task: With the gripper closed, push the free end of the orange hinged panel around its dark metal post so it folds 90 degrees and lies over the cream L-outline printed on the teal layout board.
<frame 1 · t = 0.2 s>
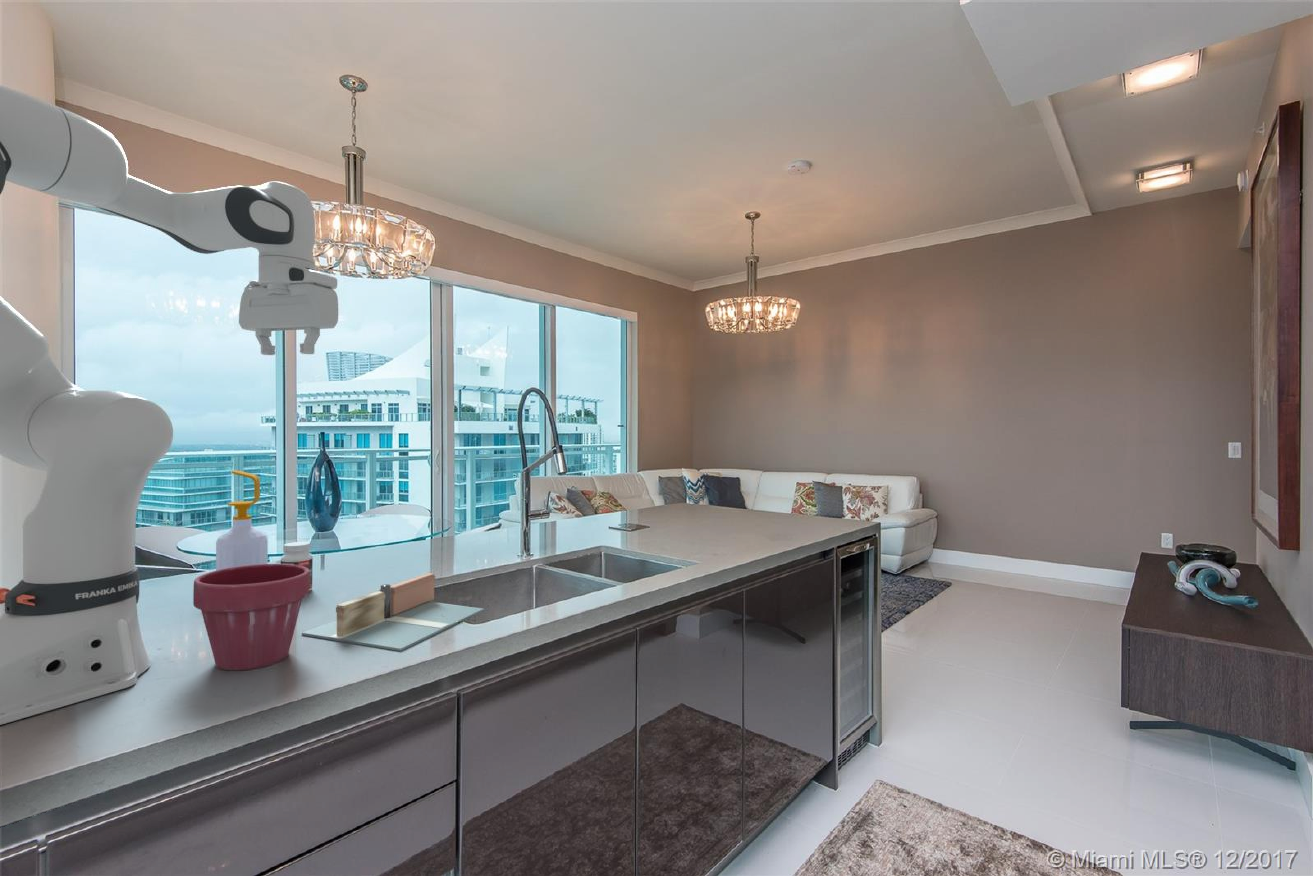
hand: (287, 354, 111), 47 cm above the worktop, tool pointing down, fingers open, 8 cm apart
pill bottle: (296, 592, 126), on the worktop
orange hinged panel: (411, 593, 115), point 3 cm above the worktop, hinge at 0.0°
plant pot: (253, 660, 91), on the worktop
layout board: (398, 622, 108), on the worktop
fence post: (385, 620, 109), resting on layout board
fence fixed: (361, 629, 104), resting on layout board
soap bottle: (242, 586, 129), on the worktop
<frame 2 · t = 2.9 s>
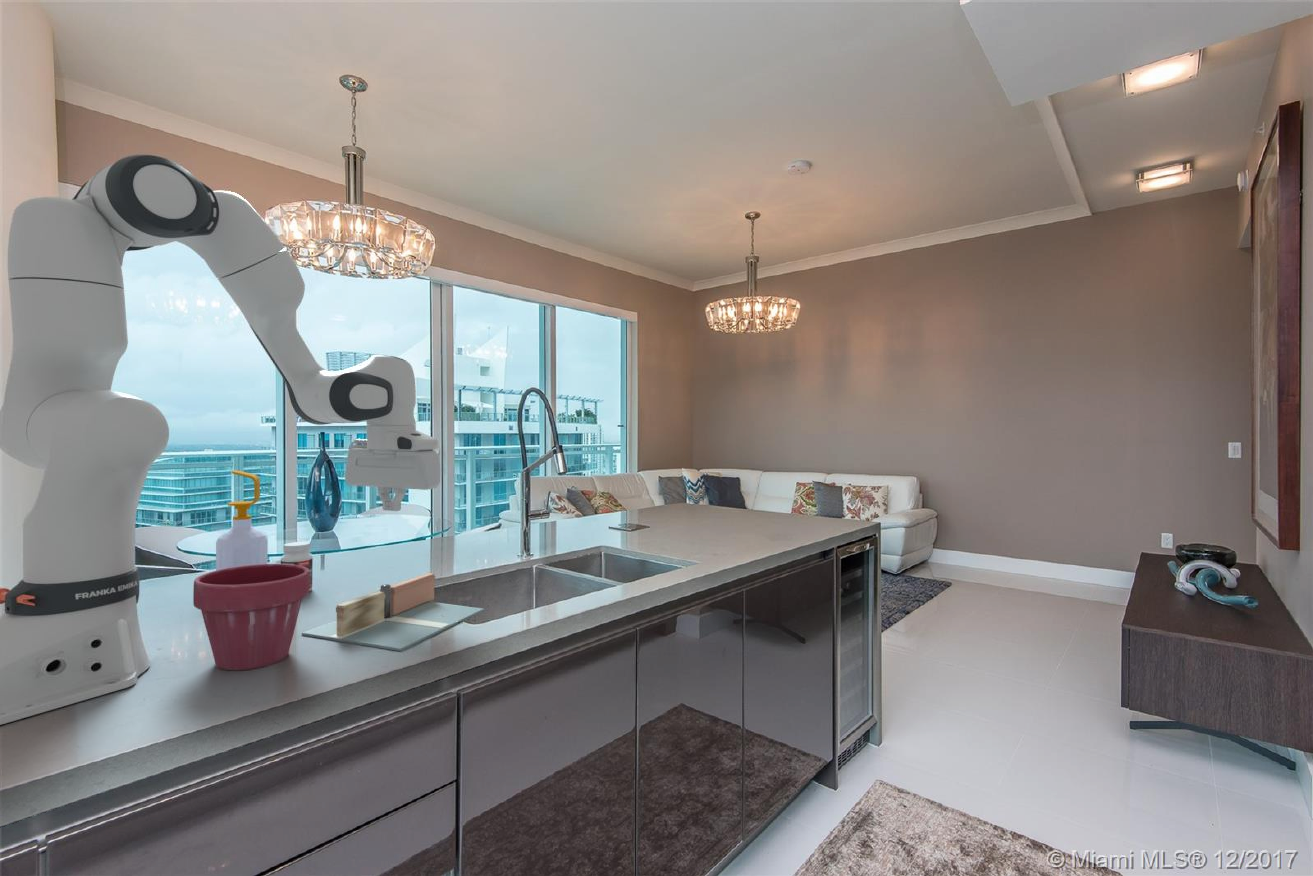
hand: (391, 510, 119), 18 cm above the worktop, tool pointing down, fingers closed
nothing on the worktop moved.
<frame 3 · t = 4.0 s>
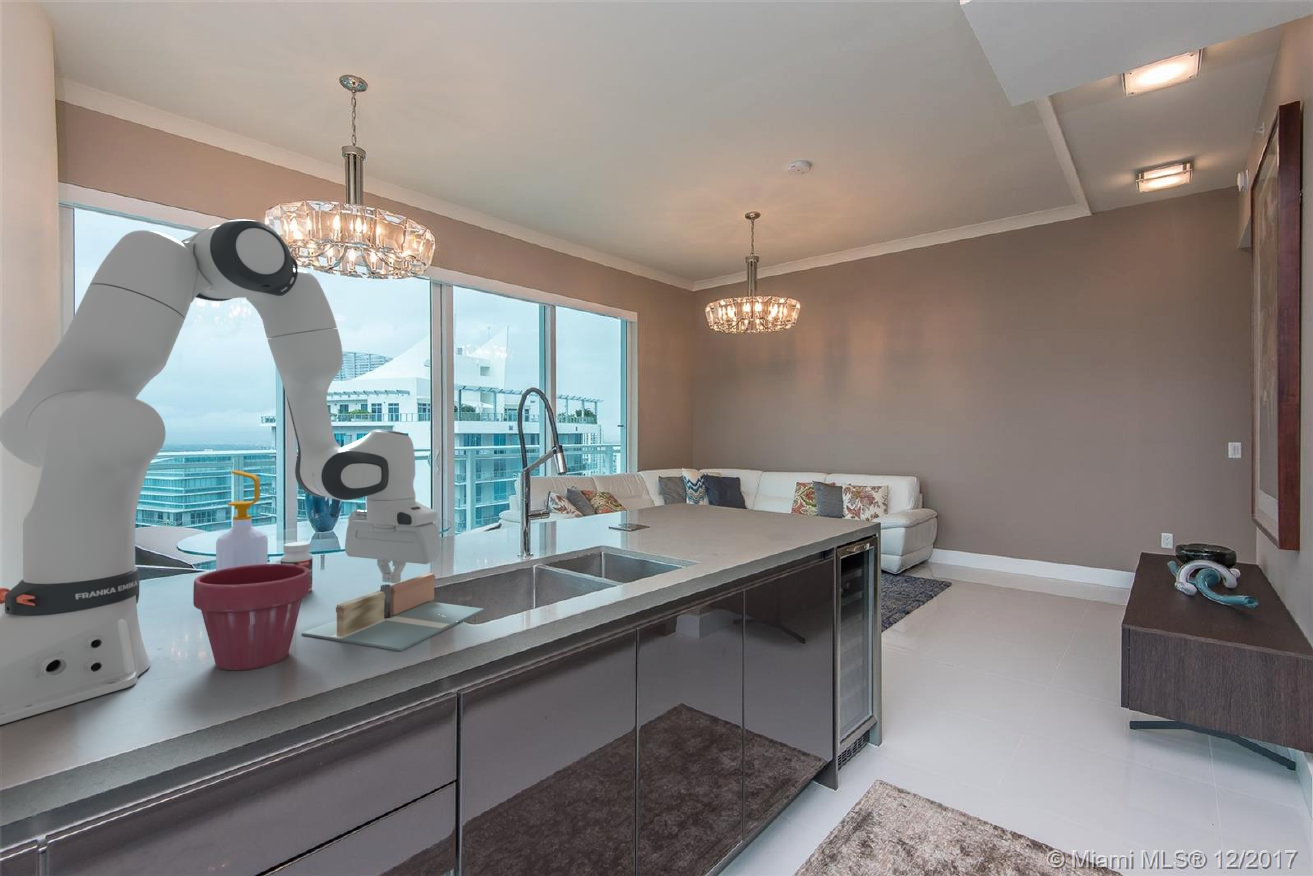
hand: (391, 582, 120), 4 cm above the worktop, tool pointing down, fingers closed
nothing on the worktop moved.
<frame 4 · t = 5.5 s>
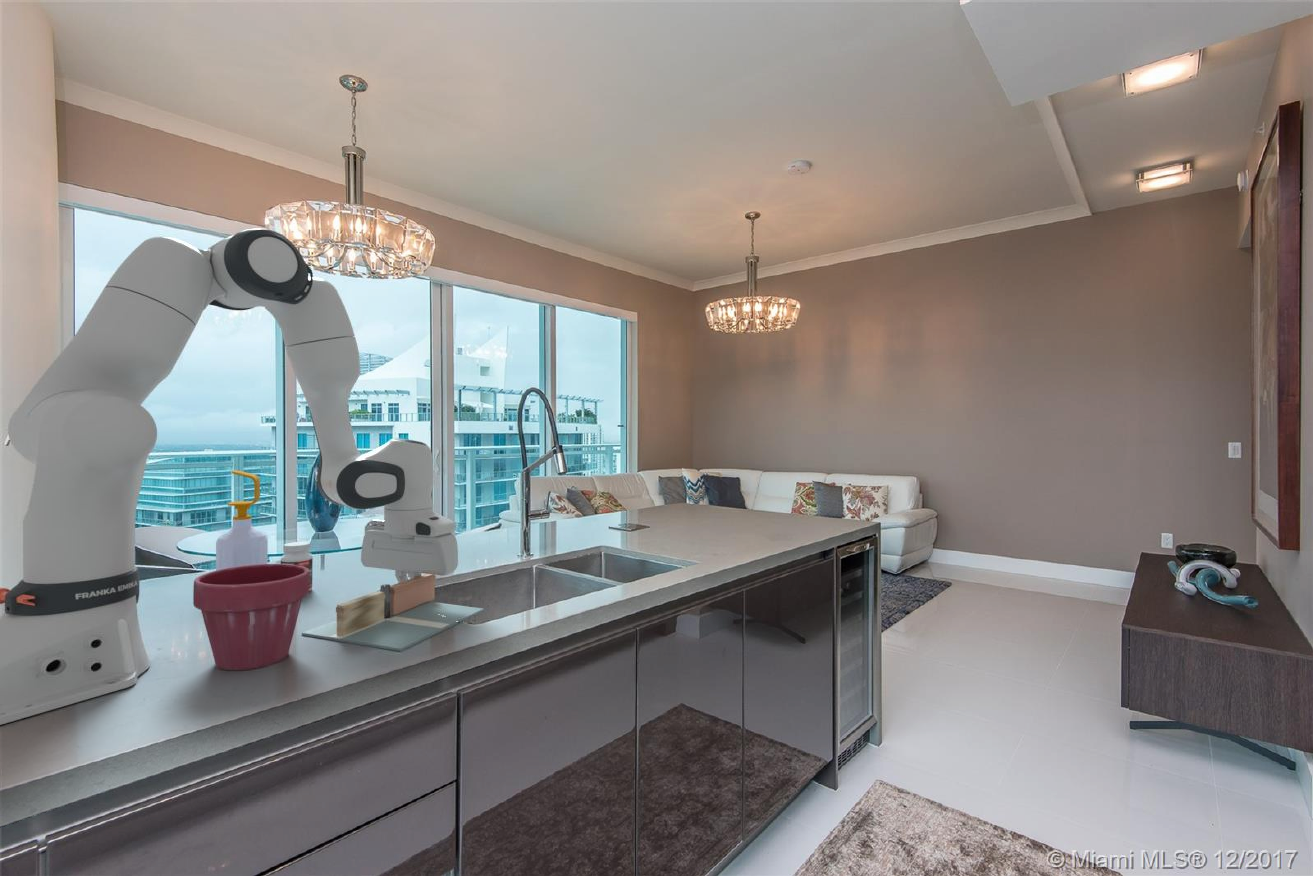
hand: (408, 593, 118), 2 cm above the worktop, tool pointing down, fingers closed
orange hinged panel: (412, 593, 115), point 3 cm above the worktop, hinge at 0.5°, touching gripper
everything else where it was.
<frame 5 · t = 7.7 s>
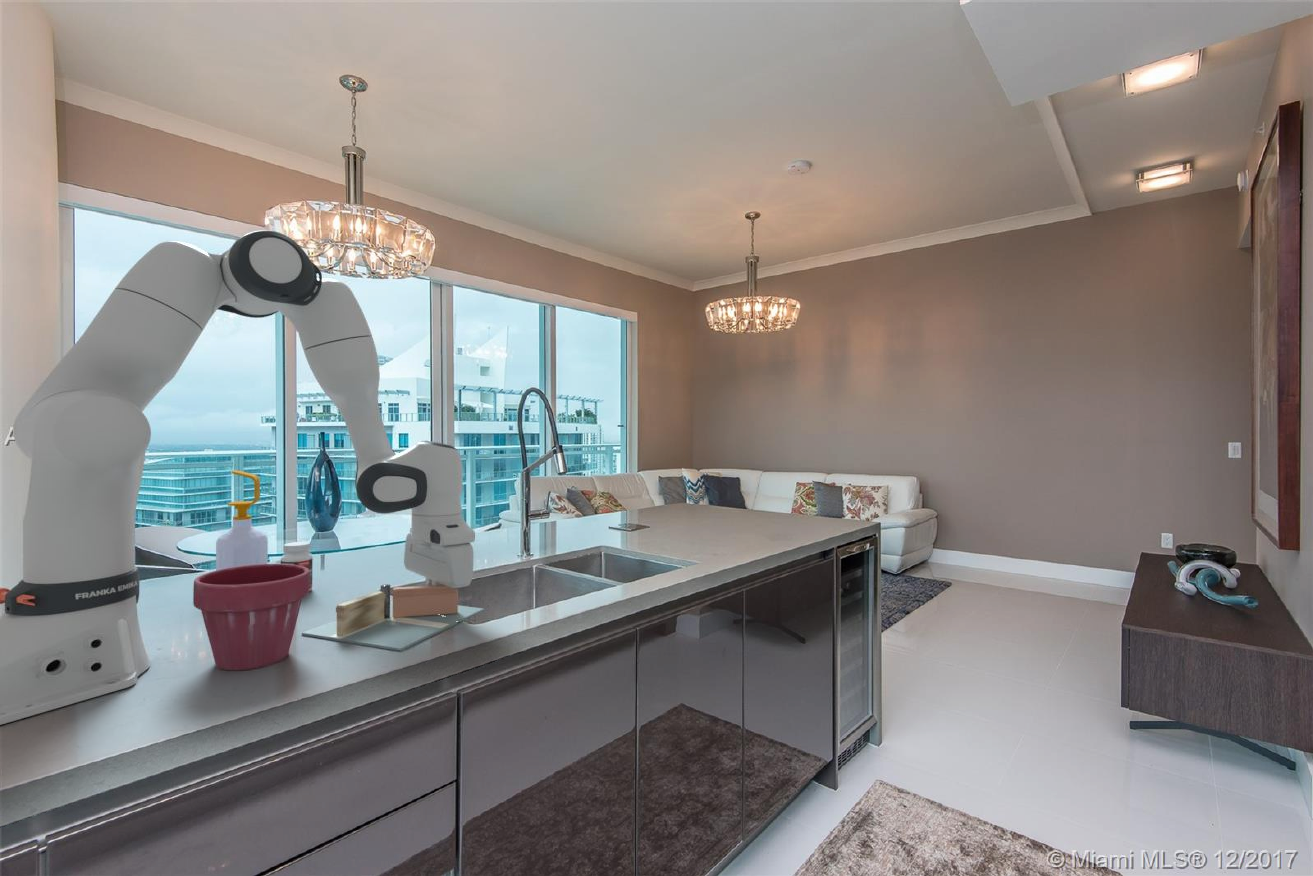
hand: (435, 602, 114), 2 cm above the worktop, tool pointing down, fingers closed
orange hinged panel: (425, 600, 111), point 3 cm above the worktop, hinge at 55.7°, touching gripper
everything else where it was.
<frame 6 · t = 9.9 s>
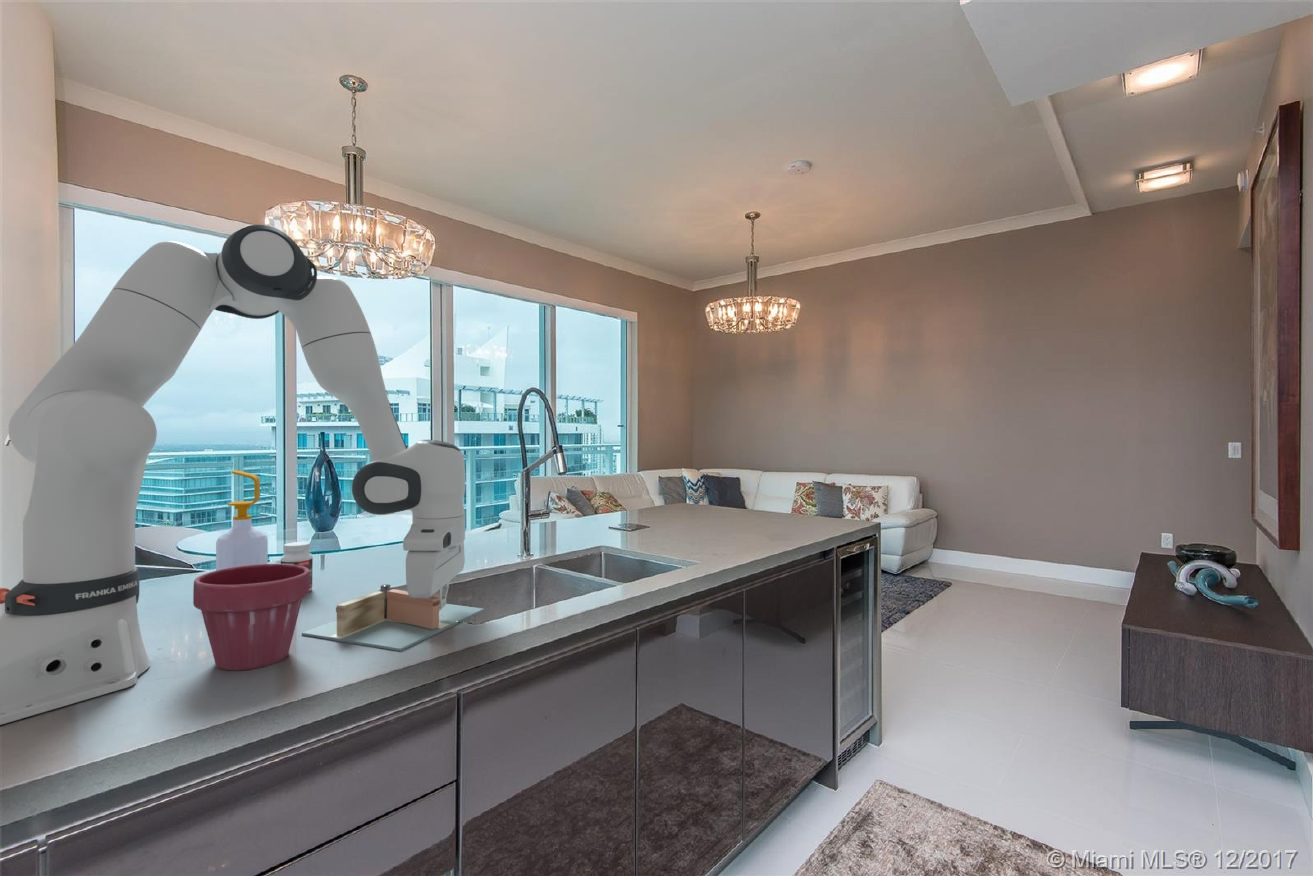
hand: (438, 608, 109), 2 cm above the worktop, tool pointing down, fingers closed
orange hinged panel: (412, 608, 106), point 3 cm above the worktop, hinge at 98.1°
everything else where it was.
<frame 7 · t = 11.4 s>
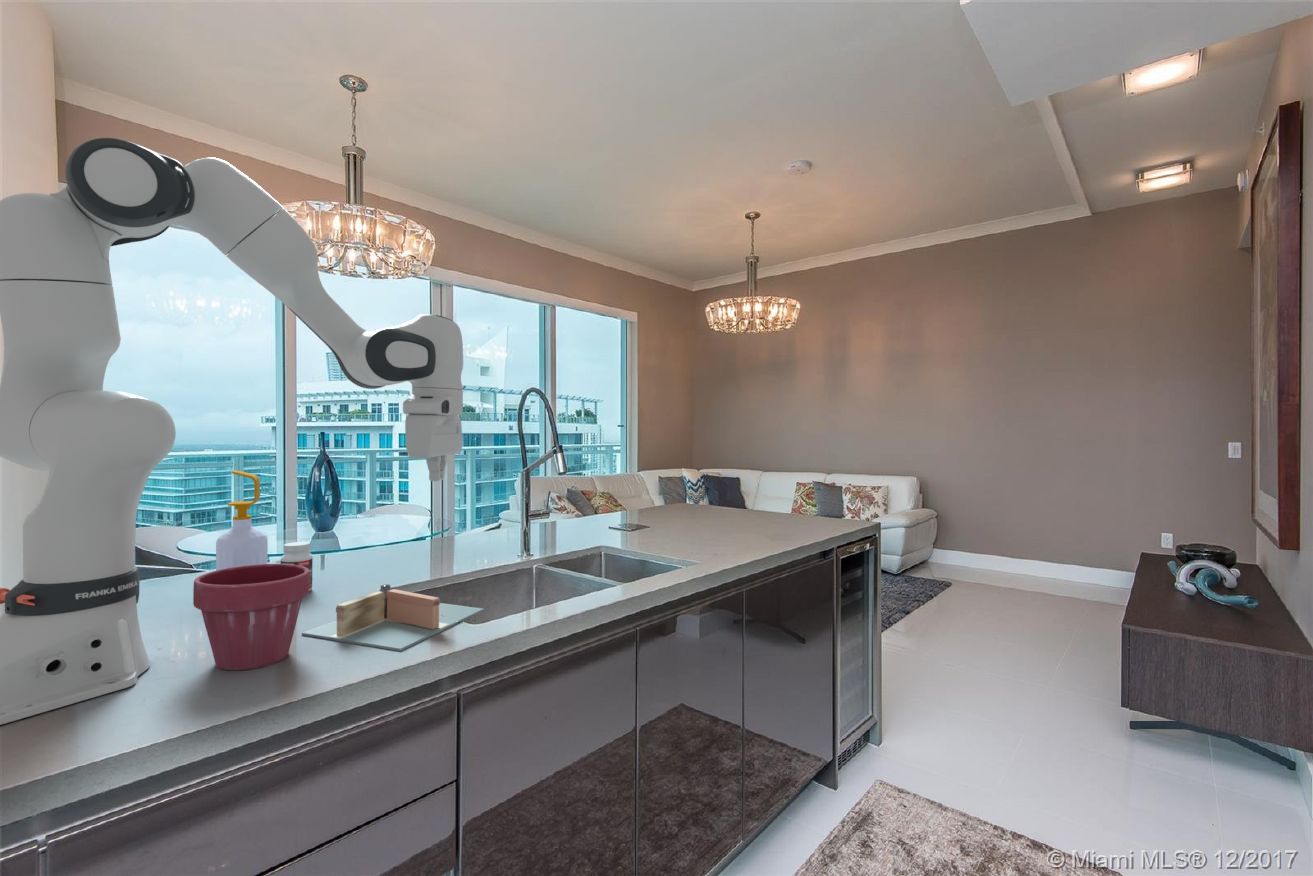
hand: (436, 480, 112), 25 cm above the worktop, tool pointing down, fingers closed
nothing on the worktop moved.
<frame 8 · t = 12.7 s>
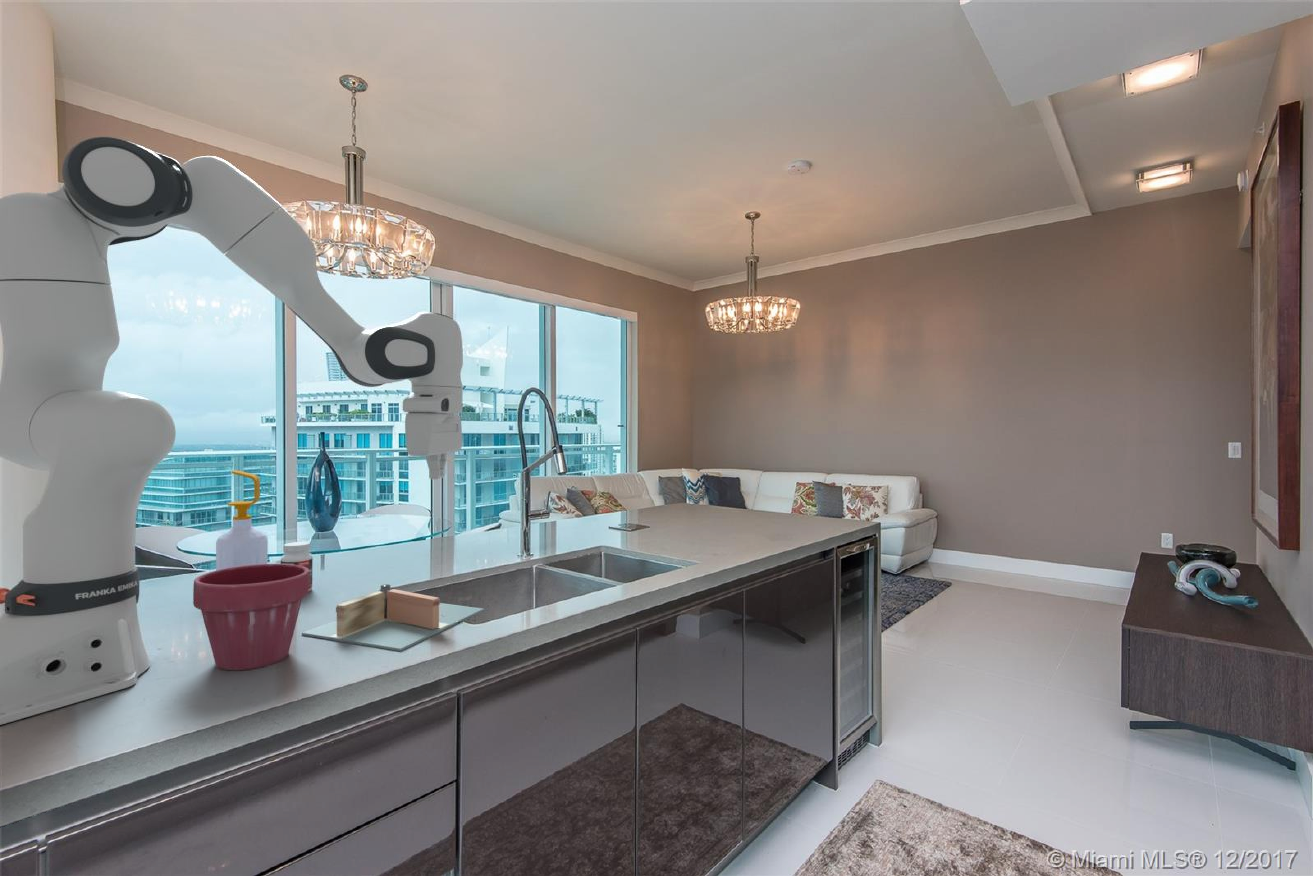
hand: (436, 478, 112), 25 cm above the worktop, tool pointing down, fingers closed
nothing on the worktop moved.
at the end: orange hinged panel at +98° (first picture: +0°); orange hinged panel touching nothing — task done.
